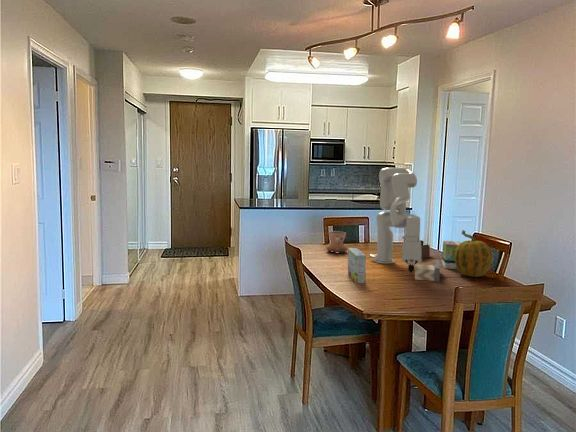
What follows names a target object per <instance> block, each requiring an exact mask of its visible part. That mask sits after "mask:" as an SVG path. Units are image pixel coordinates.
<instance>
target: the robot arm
mask: <svg viewBox="0 0 576 432" xmlns="http://www.w3.org/2000/svg"><path fill="white" fill-rule="evenodd" d="M378 179H379V180H378V181H379V183H380V184H379V185H380V196H379V206H380V209H381V210H384V211H381V212H379V213H378V214H376V225H377V226H376V227H377V228H376V229H377V242H376V243H377V244H376V245H377V246H376V247H377V249H376V254H369V258H370V259H373V260H374V261H373V262H375V263H377V264H383V265H384V264H385V265H386V264H387V265H388V264H394V263H396V262H395V259H393V251H394V250H393V247H394V245H393V243H394V234H393V231H392V230H391V229H390V228H396V229H404V228H405V232H404V233H405V235H404V236H402V240H404V239H405V241H403V243H402V250H401V261H402V262H404V263H406V264H407V265H408V268H407V269H408V271H409V273H411V274H413V272H415V266H416V264H418V263H422V262H423V259H421V255H422V249H421V242H420V240H421V239H420V237H421V233H420V232H421V218H420V216H417V215H416V214H412V213H411V214H410V213H409V214H407V212H406V211H407V210H406V209H407V202H408V201H409V200H410V198H411V194H410V189H411V188H412V189H413V188H416V187H417V183H418V178H417V176H416V174H415V172H414V171H412V170H410V169H409V168H407V167H384V168H381V169H380V171H379V173H378ZM411 261H412V263H411Z"/></svg>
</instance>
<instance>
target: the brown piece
mask: <svg viewBox="0 0 576 432" xmlns="http://www.w3.org/2000/svg"><path fill="white" fill-rule="evenodd" d="M346 236H347V232H344V231H340V230H332V231H331V230H330V231H328V237H329V240H330V243H328V244H327V245H326V250H327V251H328V252H329V251H333V252H343V253H345V252H348V246H347V245H346V244H345V243H344V241H345V239H346ZM344 251H345V252H344Z"/></svg>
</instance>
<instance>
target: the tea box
mask: <svg viewBox="0 0 576 432" xmlns="http://www.w3.org/2000/svg"><path fill="white" fill-rule="evenodd" d="M460 243H461V242H460V241H455V240H454V241H453V240H443V241H442V254H441V255H442V256H441V264H442V265H443V268H444V269H447V270H448V269H449V270H457V268H456V264H455V251H456V248H457V246H458V245H459V244H460Z"/></svg>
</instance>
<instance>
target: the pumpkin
mask: <svg viewBox="0 0 576 432" xmlns="http://www.w3.org/2000/svg"><path fill="white" fill-rule="evenodd" d="M461 235H463V236H464V237H466V238H468V239H471V240H464V241H462V242H460V244H459V245H458V246H457V248H456V251H455V264H456V268H457V269H456V270H457V271H458V273H460V274H461V275H463V276H466V277H471V278H472V277H473V278H476V277H477V278H478V277H483V276H484V275H485V274H486V273H488V272H489V270H490V268H491V265H492V262H493V254H492V253H493V252H492V250H491V247H490V246H489V245H488V244H487V243H486V242H484V241H483V240H482V241H481V240H476V238H475V237H474V236H473V235H471V234H469V233H468V234H467V233H466V230H464V229H462V230H461Z"/></svg>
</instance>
